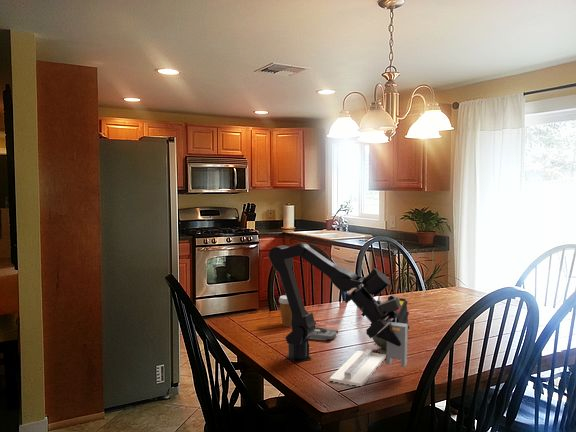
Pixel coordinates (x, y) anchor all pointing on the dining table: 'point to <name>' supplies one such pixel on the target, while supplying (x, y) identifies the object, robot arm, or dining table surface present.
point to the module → (395, 350)
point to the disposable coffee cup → (285, 311)
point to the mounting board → (362, 373)
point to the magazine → (402, 312)
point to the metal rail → (358, 364)
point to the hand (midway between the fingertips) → (401, 343)
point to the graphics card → (323, 334)
